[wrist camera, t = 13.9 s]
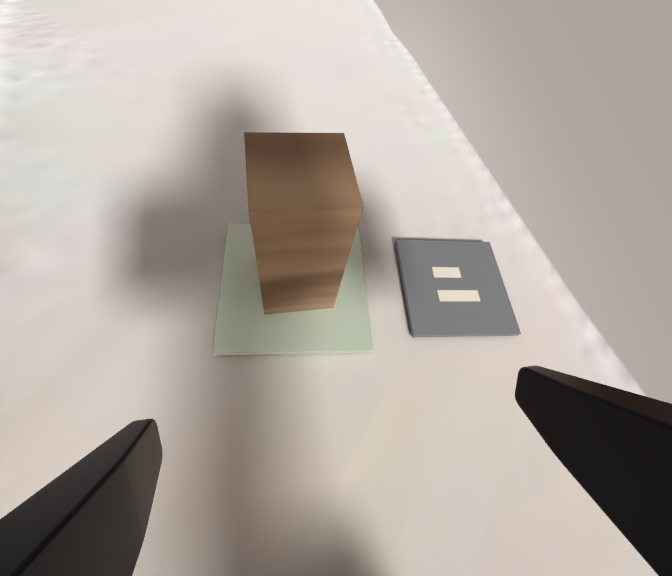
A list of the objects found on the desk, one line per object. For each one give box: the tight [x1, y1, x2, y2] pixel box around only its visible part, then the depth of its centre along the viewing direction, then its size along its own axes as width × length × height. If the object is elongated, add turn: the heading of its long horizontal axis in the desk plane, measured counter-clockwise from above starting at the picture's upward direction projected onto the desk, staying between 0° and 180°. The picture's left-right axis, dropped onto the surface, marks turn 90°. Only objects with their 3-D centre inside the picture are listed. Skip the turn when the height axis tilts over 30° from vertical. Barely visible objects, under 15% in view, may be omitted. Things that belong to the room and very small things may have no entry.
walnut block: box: [244, 132, 363, 315], centre depth 18 cm, size 5×5×10 cm
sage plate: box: [213, 223, 373, 356], centre depth 23 cm, size 10×10×1 cm
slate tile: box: [395, 239, 521, 337], centre depth 25 cm, size 8×8×1 cm
